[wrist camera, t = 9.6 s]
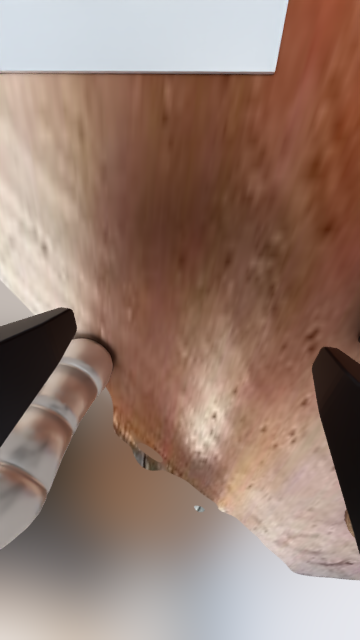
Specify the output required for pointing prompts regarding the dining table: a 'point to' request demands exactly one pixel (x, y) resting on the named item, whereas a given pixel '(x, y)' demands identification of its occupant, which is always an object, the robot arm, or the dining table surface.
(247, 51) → the board
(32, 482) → the plastic bottle
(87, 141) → the dining table surface
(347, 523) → the trivet
